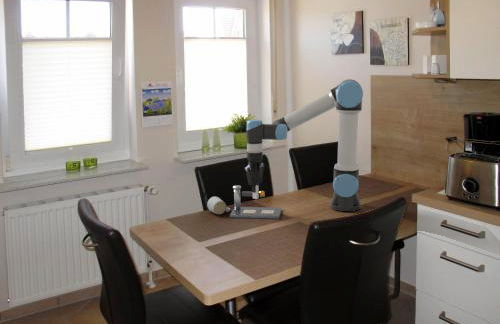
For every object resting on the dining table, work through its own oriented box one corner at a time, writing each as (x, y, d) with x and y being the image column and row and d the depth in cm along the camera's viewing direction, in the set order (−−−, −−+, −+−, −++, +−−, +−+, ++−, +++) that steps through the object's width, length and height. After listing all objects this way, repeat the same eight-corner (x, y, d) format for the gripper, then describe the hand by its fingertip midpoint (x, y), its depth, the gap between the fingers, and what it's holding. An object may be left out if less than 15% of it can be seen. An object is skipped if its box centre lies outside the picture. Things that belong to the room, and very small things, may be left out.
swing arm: (241, 196, 259) (241, 192, 259) (242, 195, 262) (242, 190, 261) (264, 197, 258) (264, 192, 257) (264, 195, 260) (264, 191, 260)
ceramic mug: (214, 216, 255) (214, 201, 253) (207, 212, 262) (206, 197, 260) (233, 213, 260) (233, 198, 258) (225, 209, 267) (225, 194, 265)
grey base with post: (281, 210, 262) (281, 185, 260) (279, 218, 249) (278, 192, 246) (234, 209, 266) (234, 184, 263) (229, 217, 252) (229, 192, 250)
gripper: (258, 148, 259) (258, 194, 264) (239, 152, 250) (240, 199, 255) (269, 150, 254) (269, 196, 259) (251, 154, 245) (252, 202, 250)
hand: (255, 198), depth 257 cm, fingers closed
